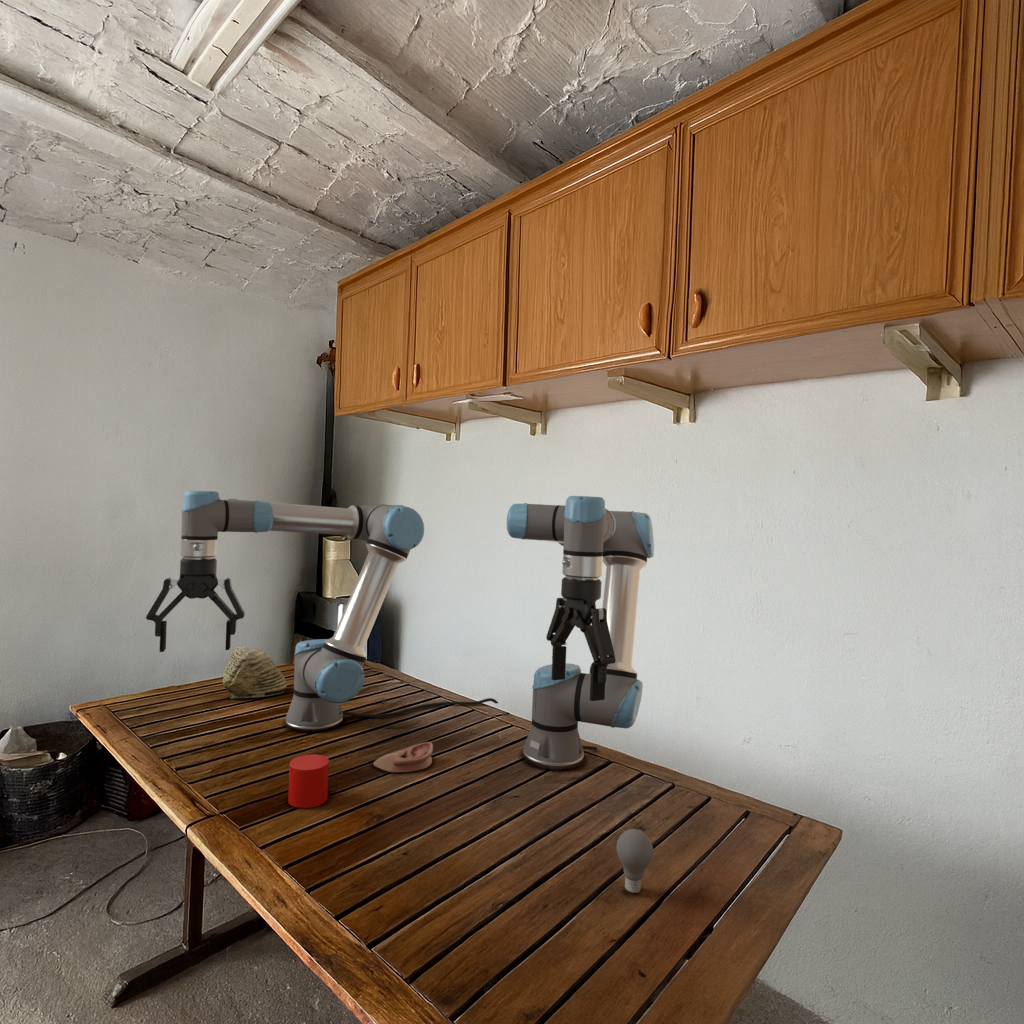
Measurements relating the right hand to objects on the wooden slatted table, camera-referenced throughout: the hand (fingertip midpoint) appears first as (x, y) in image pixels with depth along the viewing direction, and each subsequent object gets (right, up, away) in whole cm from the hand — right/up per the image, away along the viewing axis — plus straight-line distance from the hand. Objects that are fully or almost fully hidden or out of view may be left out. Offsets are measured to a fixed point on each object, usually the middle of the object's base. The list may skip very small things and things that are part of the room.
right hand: (576, 689), depth 120 cm
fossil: (-93, -24, +78) cm, 124 cm away
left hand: (-85, +2, +26) cm, 89 cm away
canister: (-55, -27, +13) cm, 62 cm away
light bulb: (+8, -30, -14) cm, 34 cm away
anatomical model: (-38, -27, +32) cm, 57 cm away
